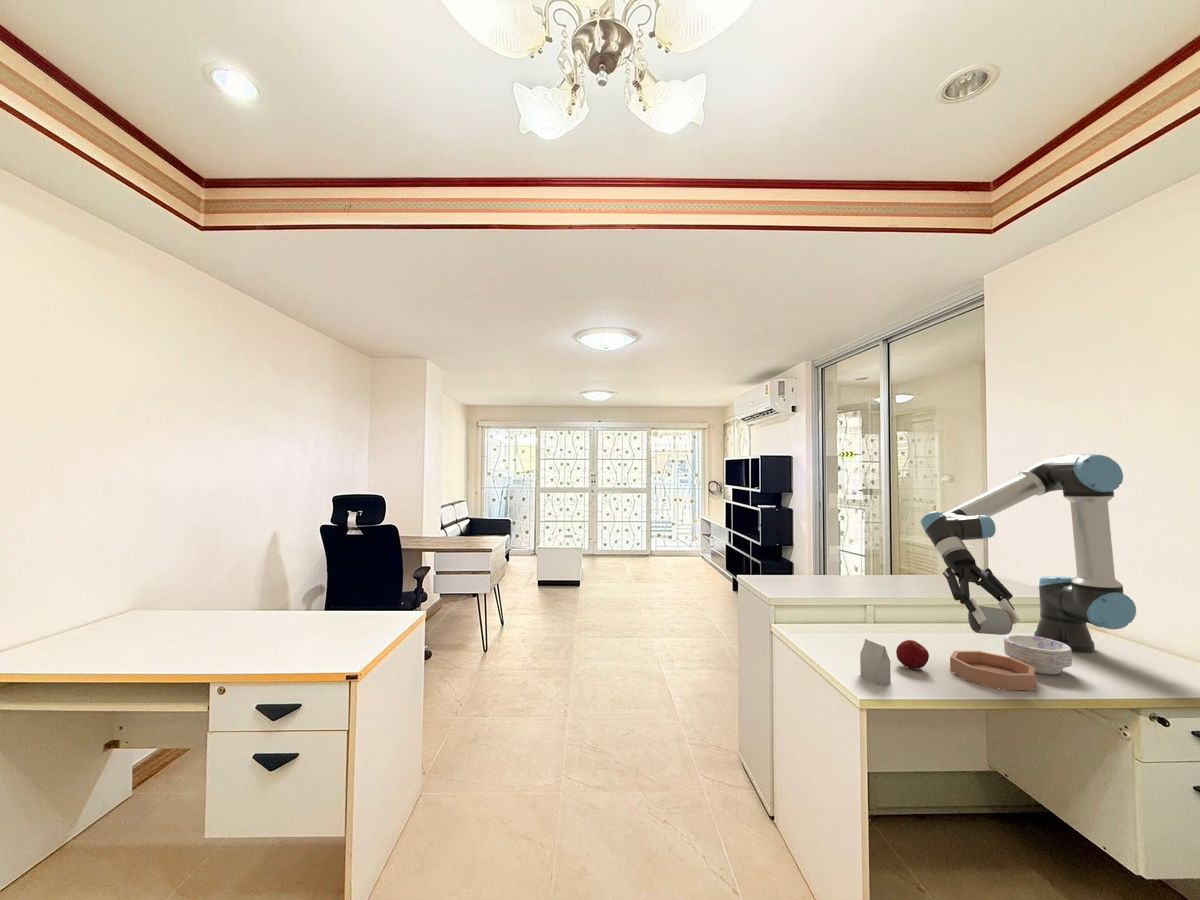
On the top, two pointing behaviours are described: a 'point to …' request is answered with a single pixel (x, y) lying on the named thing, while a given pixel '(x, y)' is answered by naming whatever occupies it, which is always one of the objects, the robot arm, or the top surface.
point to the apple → (912, 654)
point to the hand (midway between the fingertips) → (999, 621)
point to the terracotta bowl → (993, 670)
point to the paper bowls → (1039, 653)
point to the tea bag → (875, 663)
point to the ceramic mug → (992, 621)
